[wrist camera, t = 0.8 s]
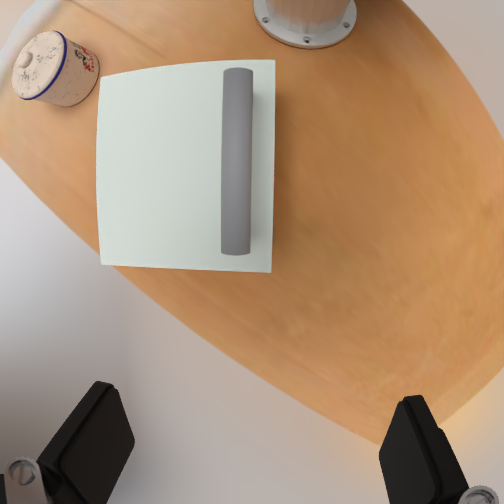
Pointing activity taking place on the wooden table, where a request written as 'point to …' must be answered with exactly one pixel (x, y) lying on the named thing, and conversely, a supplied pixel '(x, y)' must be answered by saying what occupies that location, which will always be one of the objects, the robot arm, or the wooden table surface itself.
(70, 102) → the teacup with lid
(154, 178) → the carton lid
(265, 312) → the wooden table surface
